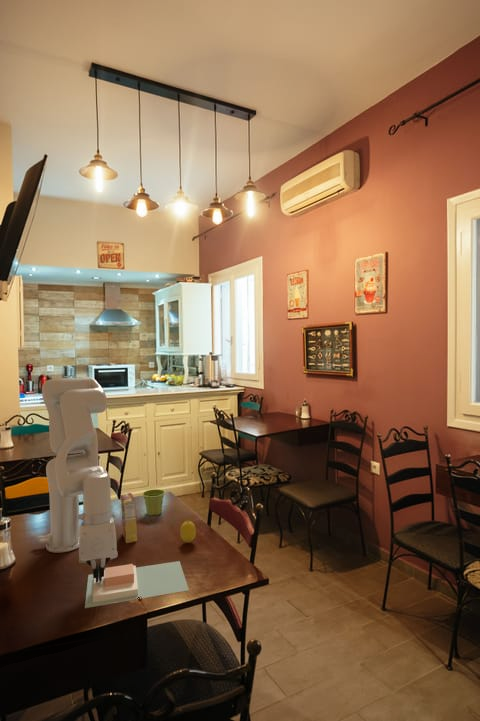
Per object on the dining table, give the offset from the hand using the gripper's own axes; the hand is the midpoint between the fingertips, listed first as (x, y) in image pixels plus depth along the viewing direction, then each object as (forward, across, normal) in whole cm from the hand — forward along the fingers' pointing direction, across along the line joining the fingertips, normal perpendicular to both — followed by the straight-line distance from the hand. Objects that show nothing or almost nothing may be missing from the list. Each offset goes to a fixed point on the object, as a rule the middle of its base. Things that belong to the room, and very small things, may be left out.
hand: (98, 579), depth 125 cm
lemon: (+3, +29, +22) cm, 37 cm away
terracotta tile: (+1, +6, 0) cm, 6 cm away
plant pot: (+3, +20, +55) cm, 59 cm away
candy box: (+3, +9, +33) cm, 35 cm away
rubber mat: (+3, +11, 0) cm, 11 cm away
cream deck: (+3, +5, 0) cm, 5 cm away
